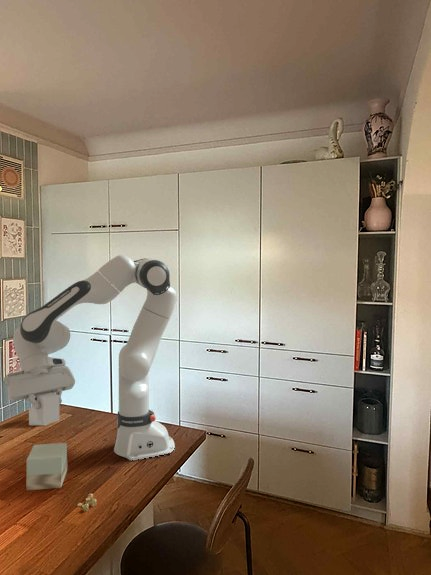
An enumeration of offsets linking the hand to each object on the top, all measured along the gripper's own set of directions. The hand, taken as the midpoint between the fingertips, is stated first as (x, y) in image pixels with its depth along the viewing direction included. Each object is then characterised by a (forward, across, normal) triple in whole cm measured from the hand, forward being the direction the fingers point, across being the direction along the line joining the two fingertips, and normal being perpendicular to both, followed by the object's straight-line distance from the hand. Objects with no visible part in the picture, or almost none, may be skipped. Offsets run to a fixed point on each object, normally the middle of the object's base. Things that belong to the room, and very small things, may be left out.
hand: (49, 405), depth 124 cm
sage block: (+14, 0, +14) cm, 20 cm away
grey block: (+3, 0, +4) cm, 5 cm away
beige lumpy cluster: (+32, +3, +4) cm, 32 cm away
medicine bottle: (-16, +16, +51) cm, 56 cm away
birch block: (+17, 0, +18) cm, 25 cm away
